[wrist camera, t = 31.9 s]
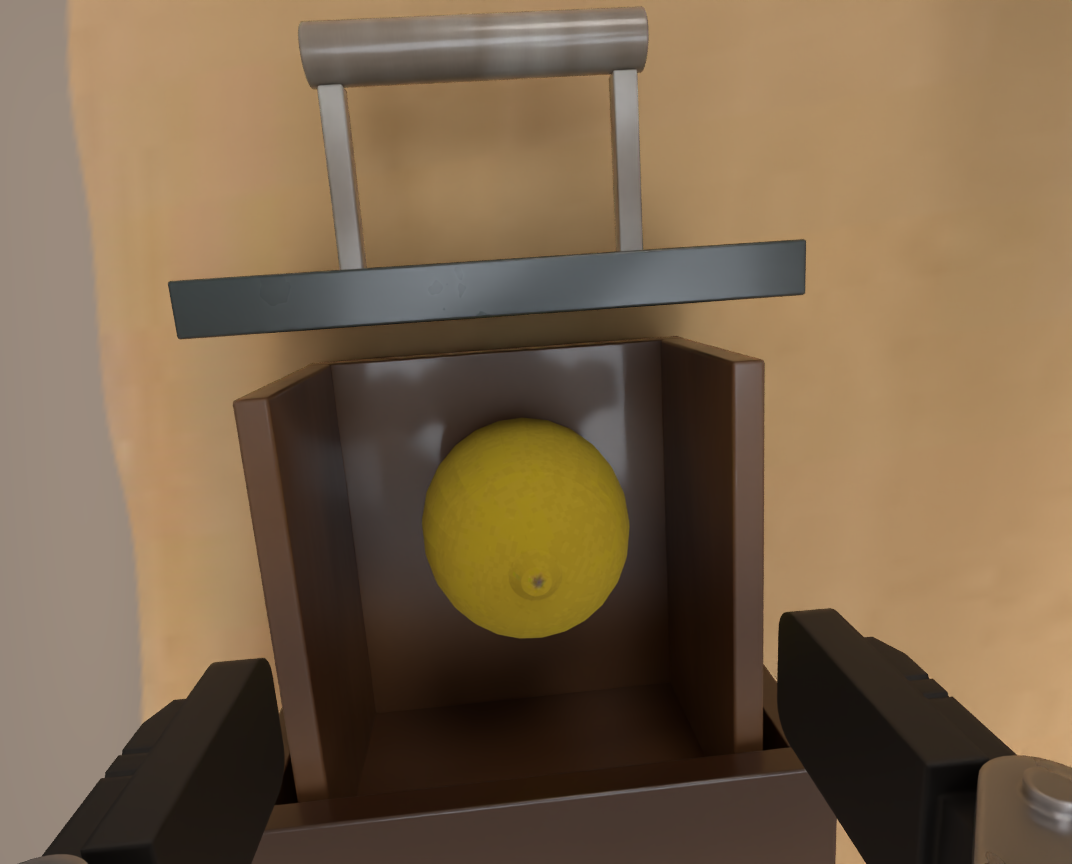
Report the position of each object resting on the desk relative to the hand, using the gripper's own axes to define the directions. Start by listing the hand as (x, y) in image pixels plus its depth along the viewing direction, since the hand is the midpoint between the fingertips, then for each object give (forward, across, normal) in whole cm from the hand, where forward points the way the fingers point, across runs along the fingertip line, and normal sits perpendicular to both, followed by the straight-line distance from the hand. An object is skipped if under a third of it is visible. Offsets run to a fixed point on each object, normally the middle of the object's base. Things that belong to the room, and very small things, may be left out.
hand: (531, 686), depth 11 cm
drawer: (+13, 0, -2) cm, 13 cm away
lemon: (+12, 0, 0) cm, 12 cm away
